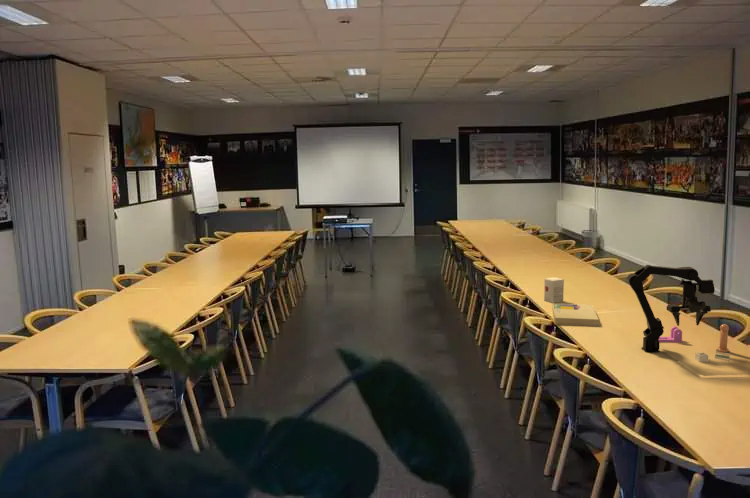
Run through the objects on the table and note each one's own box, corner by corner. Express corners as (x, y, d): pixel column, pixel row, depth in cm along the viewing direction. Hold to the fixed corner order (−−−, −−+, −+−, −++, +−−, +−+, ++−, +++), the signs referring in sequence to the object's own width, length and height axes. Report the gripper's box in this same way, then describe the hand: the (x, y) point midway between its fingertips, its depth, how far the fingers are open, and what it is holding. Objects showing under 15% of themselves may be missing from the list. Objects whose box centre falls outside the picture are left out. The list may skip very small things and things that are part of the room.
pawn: (724, 353, 303) (726, 326, 301) (715, 350, 307) (716, 323, 305) (730, 351, 305) (732, 324, 303) (721, 349, 309) (723, 322, 307)
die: (699, 364, 292) (699, 355, 291) (694, 361, 296) (695, 352, 295) (707, 363, 292) (708, 355, 291) (703, 361, 296) (703, 352, 295)
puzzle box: (554, 325, 364) (598, 327, 358) (554, 317, 363) (599, 319, 357) (552, 310, 398) (593, 311, 393) (552, 303, 398) (593, 304, 392)
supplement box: (543, 300, 422) (543, 278, 420) (554, 299, 426) (554, 276, 423) (552, 303, 414) (553, 280, 412) (563, 301, 418) (564, 279, 415)
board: (729, 364, 290) (729, 362, 290) (713, 362, 294) (713, 360, 293) (730, 352, 307) (731, 350, 307) (715, 350, 311) (715, 348, 310)
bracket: (677, 339, 330) (678, 326, 329) (681, 342, 325) (682, 329, 324) (651, 339, 332) (652, 326, 331) (654, 342, 326) (655, 329, 325)
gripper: (677, 297, 298) (675, 330, 300) (717, 296, 297) (716, 329, 300) (666, 292, 309) (665, 324, 311) (705, 291, 308) (704, 323, 311)
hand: (687, 325), depth 308 cm, fingers open, 9 cm apart
